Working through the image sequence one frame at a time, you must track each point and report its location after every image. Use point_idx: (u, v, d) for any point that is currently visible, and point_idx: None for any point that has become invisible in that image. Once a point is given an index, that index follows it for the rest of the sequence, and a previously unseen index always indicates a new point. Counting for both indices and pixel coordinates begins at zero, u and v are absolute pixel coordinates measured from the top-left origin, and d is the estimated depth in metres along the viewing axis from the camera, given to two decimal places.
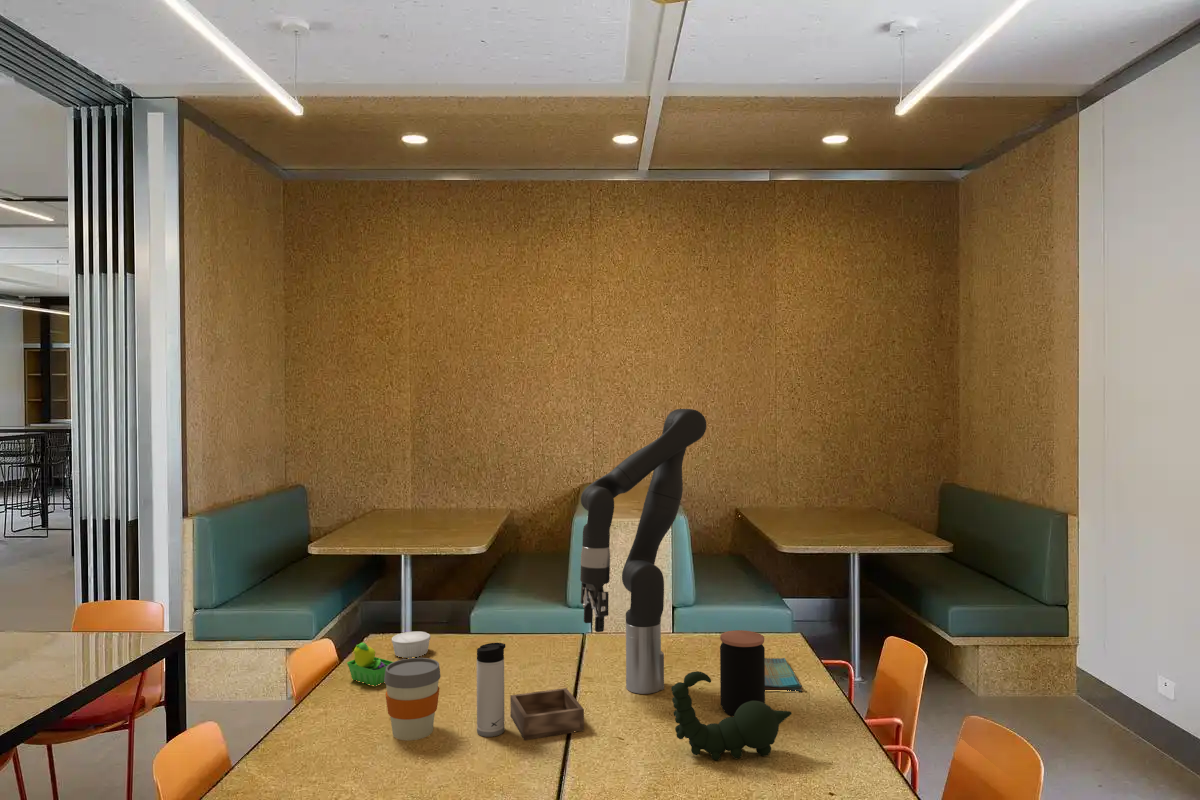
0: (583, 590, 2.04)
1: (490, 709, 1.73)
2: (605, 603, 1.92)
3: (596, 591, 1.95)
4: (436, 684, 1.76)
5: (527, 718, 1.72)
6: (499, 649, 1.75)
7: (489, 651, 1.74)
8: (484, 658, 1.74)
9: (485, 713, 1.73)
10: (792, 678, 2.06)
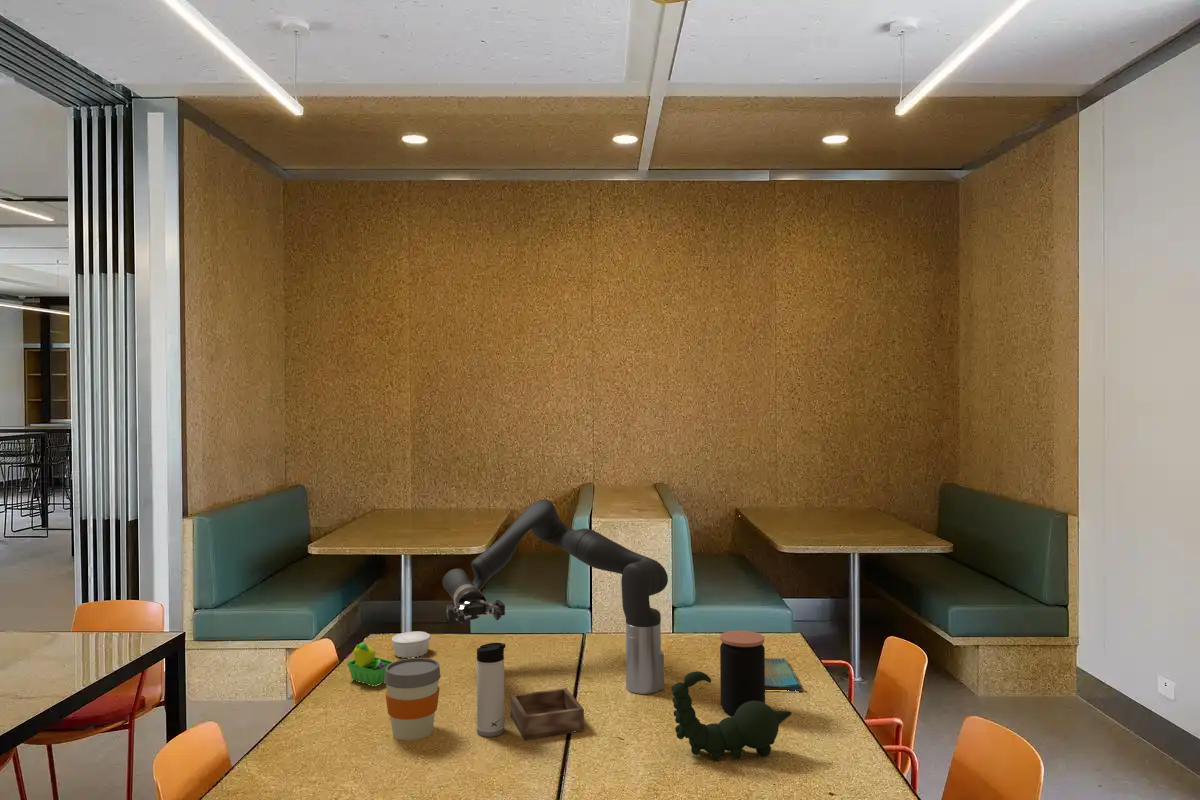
0: (451, 607, 1.94)
1: (490, 709, 1.73)
2: None
3: None
4: (436, 684, 1.76)
5: (527, 718, 1.72)
6: (499, 649, 1.75)
7: (489, 651, 1.74)
8: (484, 658, 1.74)
9: (485, 713, 1.73)
10: (792, 678, 2.06)
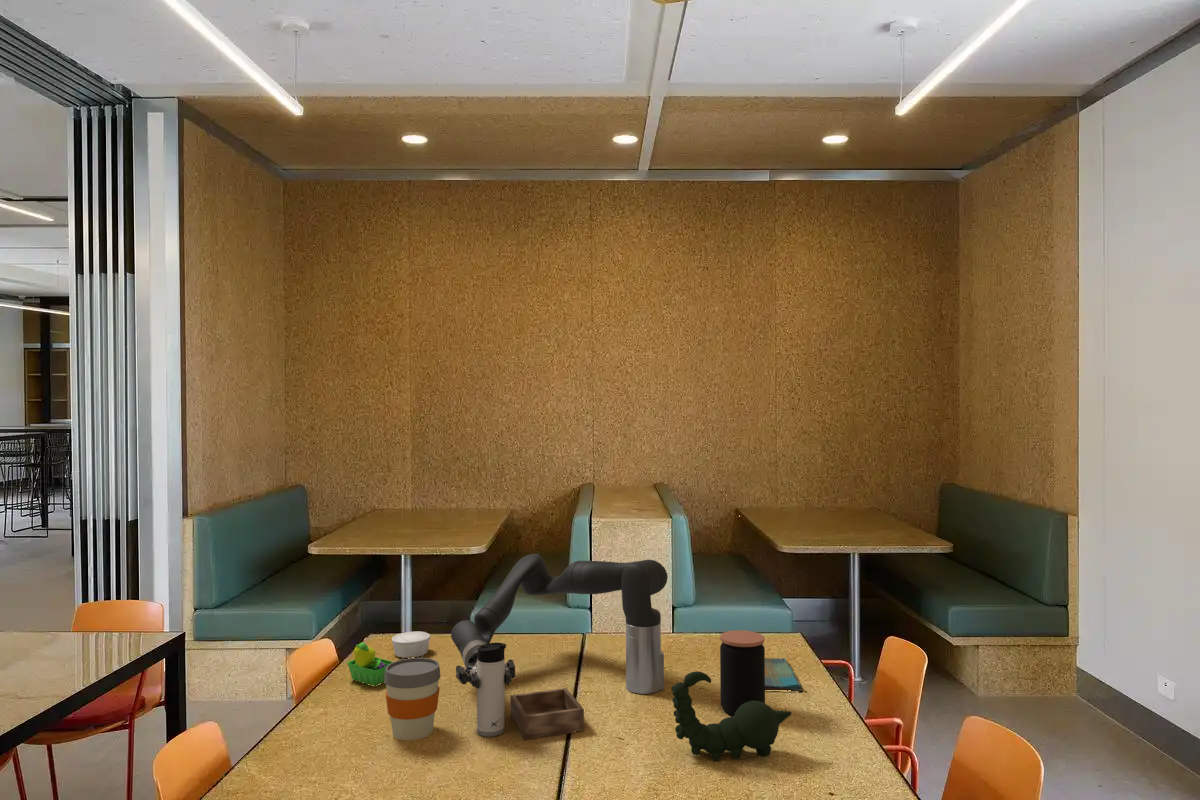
0: (462, 669, 1.80)
1: (490, 709, 1.73)
2: None
3: None
4: (436, 684, 1.76)
5: (527, 718, 1.72)
6: (500, 649, 1.75)
7: (490, 651, 1.74)
8: (485, 657, 1.74)
9: (485, 713, 1.73)
10: (792, 678, 2.06)
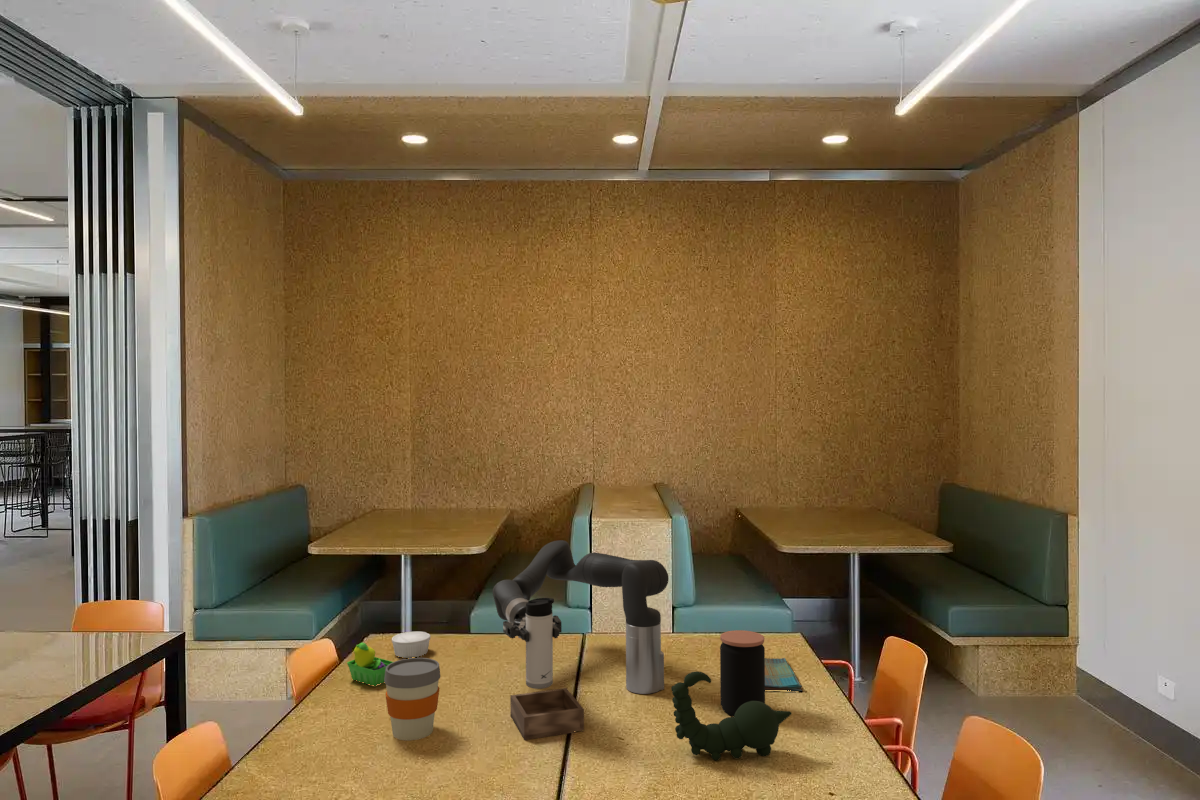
0: None
1: (540, 662, 1.77)
2: None
3: None
4: (436, 684, 1.76)
5: (527, 718, 1.72)
6: (548, 603, 1.78)
7: (539, 605, 1.77)
8: (534, 611, 1.77)
9: (535, 666, 1.77)
10: (792, 678, 2.06)
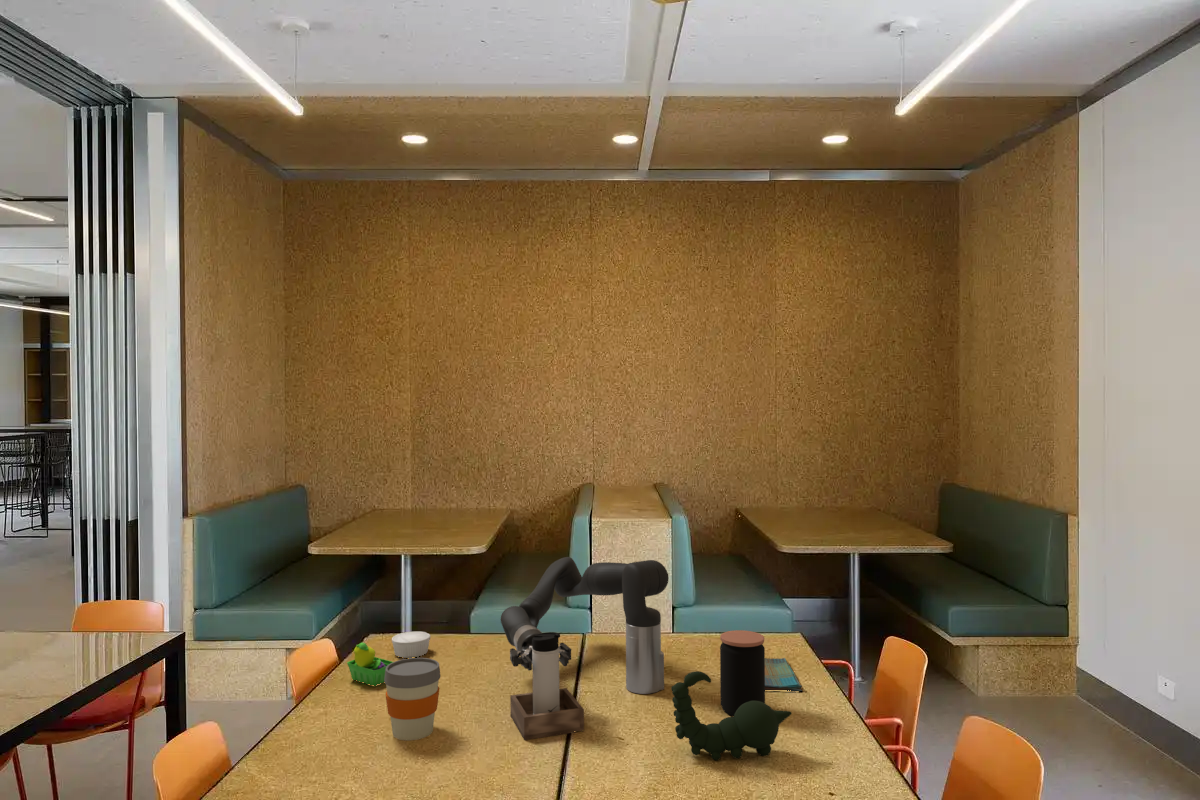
0: (515, 652, 1.85)
1: (547, 697, 1.78)
2: None
3: None
4: (436, 684, 1.76)
5: (527, 718, 1.72)
6: (554, 638, 1.79)
7: (545, 640, 1.78)
8: (541, 647, 1.78)
9: (542, 701, 1.78)
10: (792, 678, 2.06)
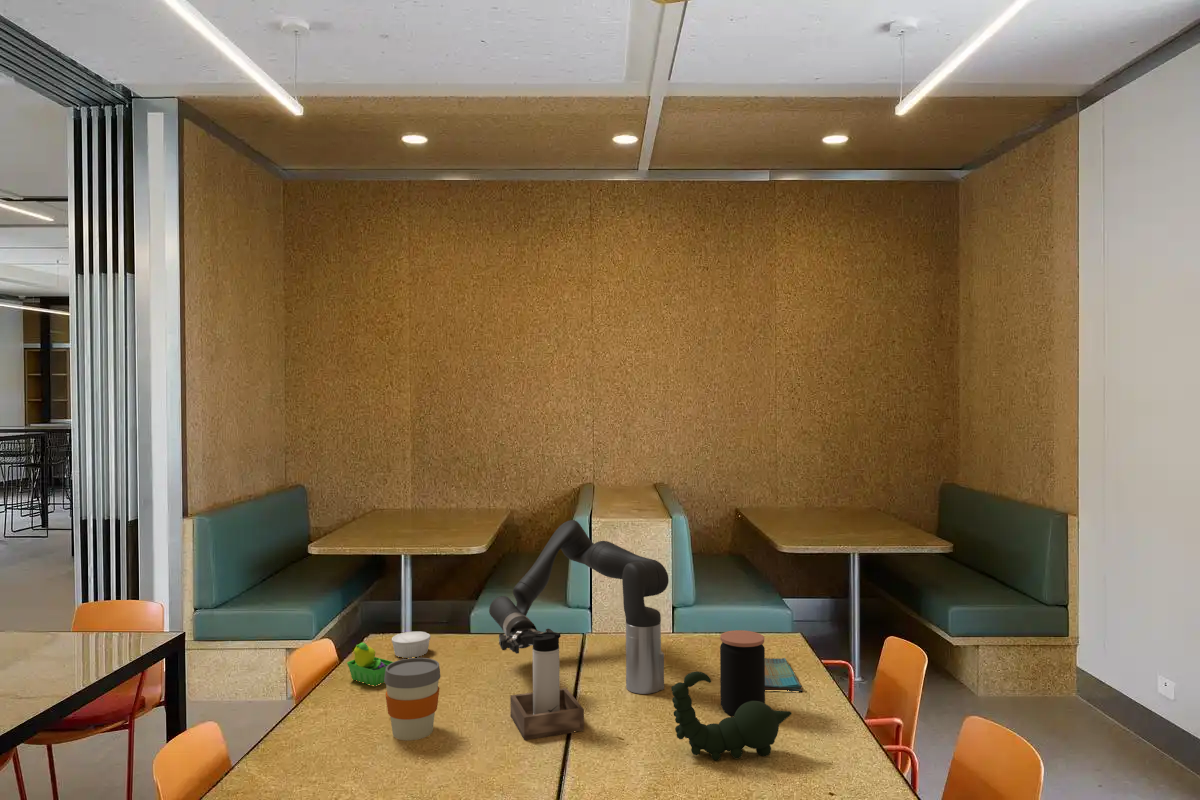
0: None
1: (547, 697, 1.78)
2: None
3: None
4: (436, 684, 1.76)
5: (527, 718, 1.72)
6: (555, 638, 1.79)
7: (545, 640, 1.78)
8: (541, 646, 1.78)
9: (542, 700, 1.78)
10: (792, 678, 2.06)
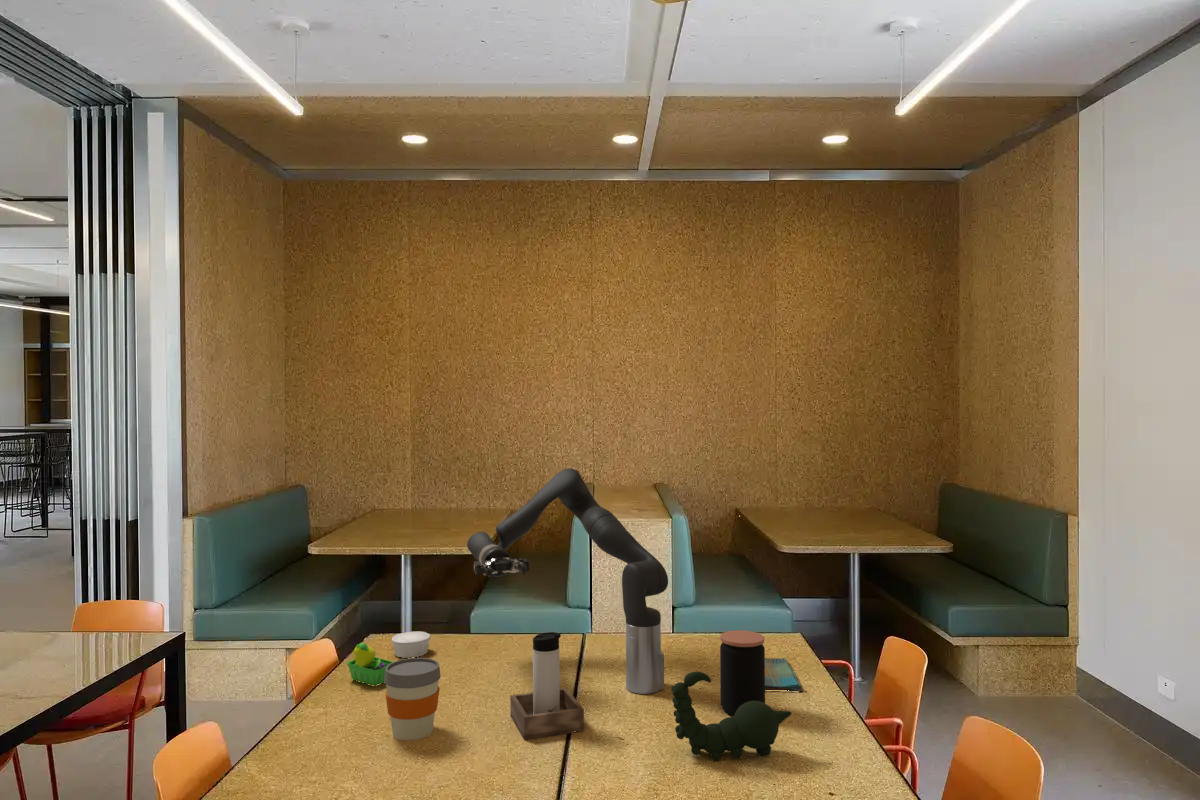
0: (478, 563, 2.03)
1: (547, 697, 1.78)
2: None
3: None
4: (436, 684, 1.76)
5: (527, 718, 1.72)
6: (555, 638, 1.79)
7: (546, 640, 1.78)
8: (541, 646, 1.78)
9: (542, 701, 1.78)
10: (792, 678, 2.06)
